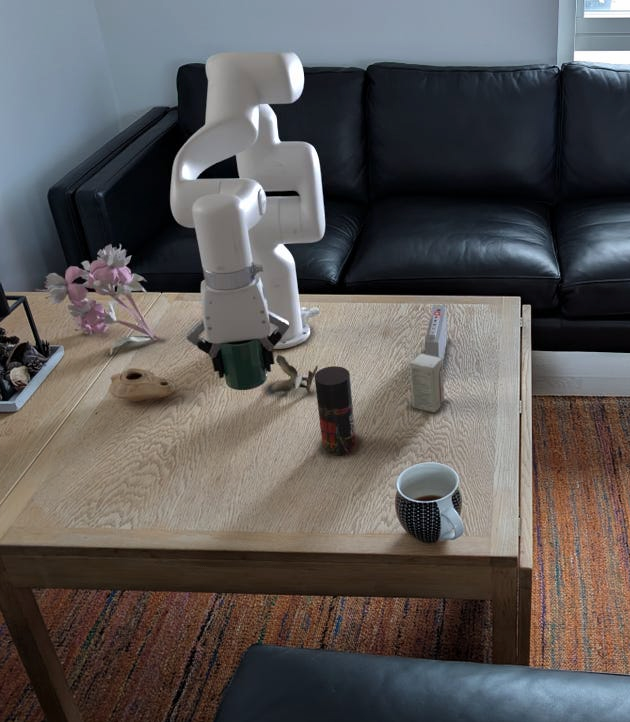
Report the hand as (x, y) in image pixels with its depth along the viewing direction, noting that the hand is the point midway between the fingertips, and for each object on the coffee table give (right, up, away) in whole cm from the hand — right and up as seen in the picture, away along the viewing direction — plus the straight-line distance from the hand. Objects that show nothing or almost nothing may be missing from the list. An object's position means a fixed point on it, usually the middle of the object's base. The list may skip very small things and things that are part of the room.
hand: (245, 370), depth 138 cm
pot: (0, -2, +1) cm, 2 cm away
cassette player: (+30, +2, +36) cm, 47 cm away
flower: (-42, +6, +43) cm, 60 cm away
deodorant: (+14, -14, +11) cm, 23 cm away
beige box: (+29, -7, +22) cm, 37 cm away
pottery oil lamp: (-26, -6, +24) cm, 36 cm away
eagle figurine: (+2, -4, +27) cm, 27 cm away
